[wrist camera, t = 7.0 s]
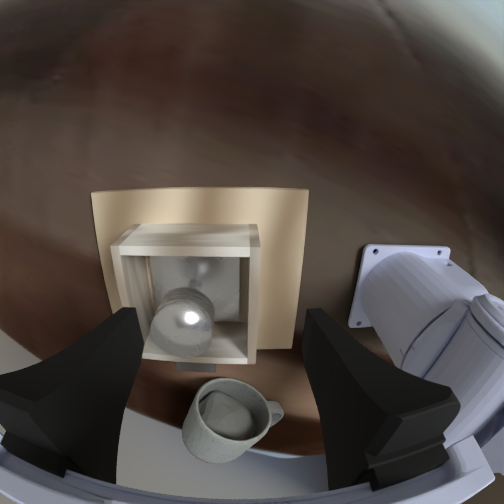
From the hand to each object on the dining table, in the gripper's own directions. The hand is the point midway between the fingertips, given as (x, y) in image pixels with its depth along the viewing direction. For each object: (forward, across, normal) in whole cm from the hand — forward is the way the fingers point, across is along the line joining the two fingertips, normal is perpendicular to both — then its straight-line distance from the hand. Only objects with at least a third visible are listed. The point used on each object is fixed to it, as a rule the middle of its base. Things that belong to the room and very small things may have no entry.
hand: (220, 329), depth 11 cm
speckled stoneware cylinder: (+11, 0, +19) cm, 21 cm away
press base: (+10, +2, +3) cm, 11 cm away
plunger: (+10, +2, +3) cm, 11 cm away
